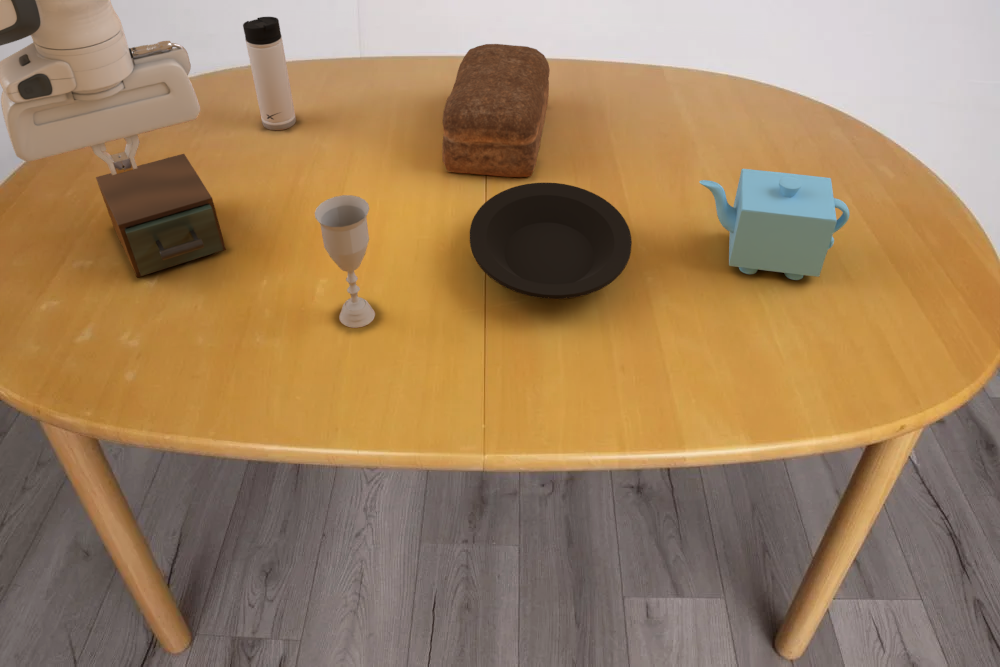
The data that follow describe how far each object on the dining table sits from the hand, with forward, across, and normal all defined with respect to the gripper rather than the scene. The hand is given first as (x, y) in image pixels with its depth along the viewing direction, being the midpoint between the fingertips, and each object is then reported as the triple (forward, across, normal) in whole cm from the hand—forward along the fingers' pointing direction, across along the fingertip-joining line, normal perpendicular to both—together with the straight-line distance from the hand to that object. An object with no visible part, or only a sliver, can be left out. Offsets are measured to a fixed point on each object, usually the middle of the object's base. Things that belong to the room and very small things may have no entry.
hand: (123, 170), depth 103 cm
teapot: (+27, -82, +27) cm, 91 cm away
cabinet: (+27, -5, -24) cm, 37 cm away
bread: (+27, -66, -25) cm, 76 cm away
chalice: (+27, -23, +8) cm, 37 cm away
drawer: (+26, -5, -20) cm, 33 cm away
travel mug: (+27, -33, -50) cm, 66 cm away
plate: (+27, -53, +12) cm, 61 cm away
